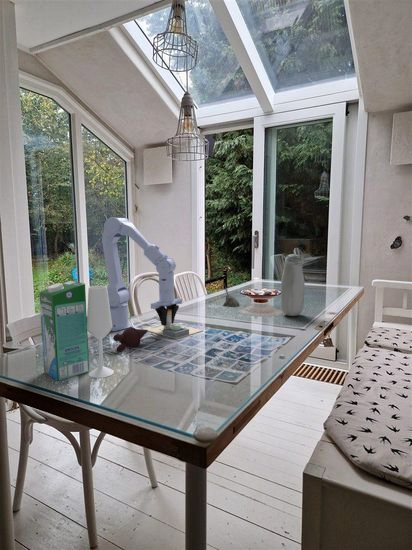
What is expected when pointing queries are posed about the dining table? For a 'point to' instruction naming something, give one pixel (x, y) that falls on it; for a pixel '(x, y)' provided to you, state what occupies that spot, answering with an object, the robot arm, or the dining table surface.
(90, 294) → the champagne flute
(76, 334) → the milk carton
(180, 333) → the button housing
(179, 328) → the button
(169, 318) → the marker
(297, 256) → the grey bottle
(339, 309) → the dining table surface
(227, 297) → the sword in stone
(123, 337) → the dark red figurine
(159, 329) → the beige board
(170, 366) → the dining table surface
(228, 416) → the dining table surface
